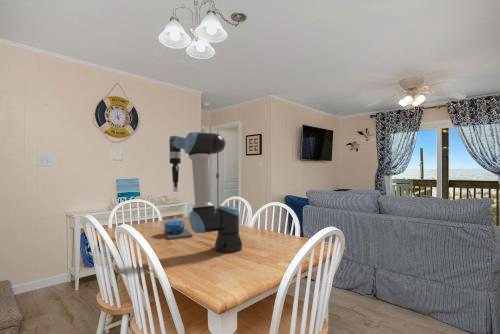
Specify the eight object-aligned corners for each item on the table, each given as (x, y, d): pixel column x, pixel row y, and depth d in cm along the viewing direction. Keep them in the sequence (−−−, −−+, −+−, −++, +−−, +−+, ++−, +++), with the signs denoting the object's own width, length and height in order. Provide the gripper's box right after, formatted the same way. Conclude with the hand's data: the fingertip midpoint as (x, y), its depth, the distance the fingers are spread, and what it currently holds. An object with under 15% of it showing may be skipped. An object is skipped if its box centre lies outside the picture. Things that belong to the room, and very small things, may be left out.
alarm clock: (164, 229, 188) (164, 235, 174) (164, 220, 188) (164, 226, 174) (184, 228, 192) (185, 234, 178) (184, 219, 192) (185, 224, 178)
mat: (192, 236, 176) (192, 234, 176) (168, 239, 170) (168, 236, 170) (186, 231, 191) (186, 228, 191) (164, 234, 184) (164, 231, 184)
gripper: (182, 157, 190) (182, 191, 190) (178, 158, 202) (178, 190, 202) (171, 157, 187) (171, 192, 187) (168, 158, 198) (168, 191, 198)
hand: (175, 191), depth 194 cm, fingers closed
